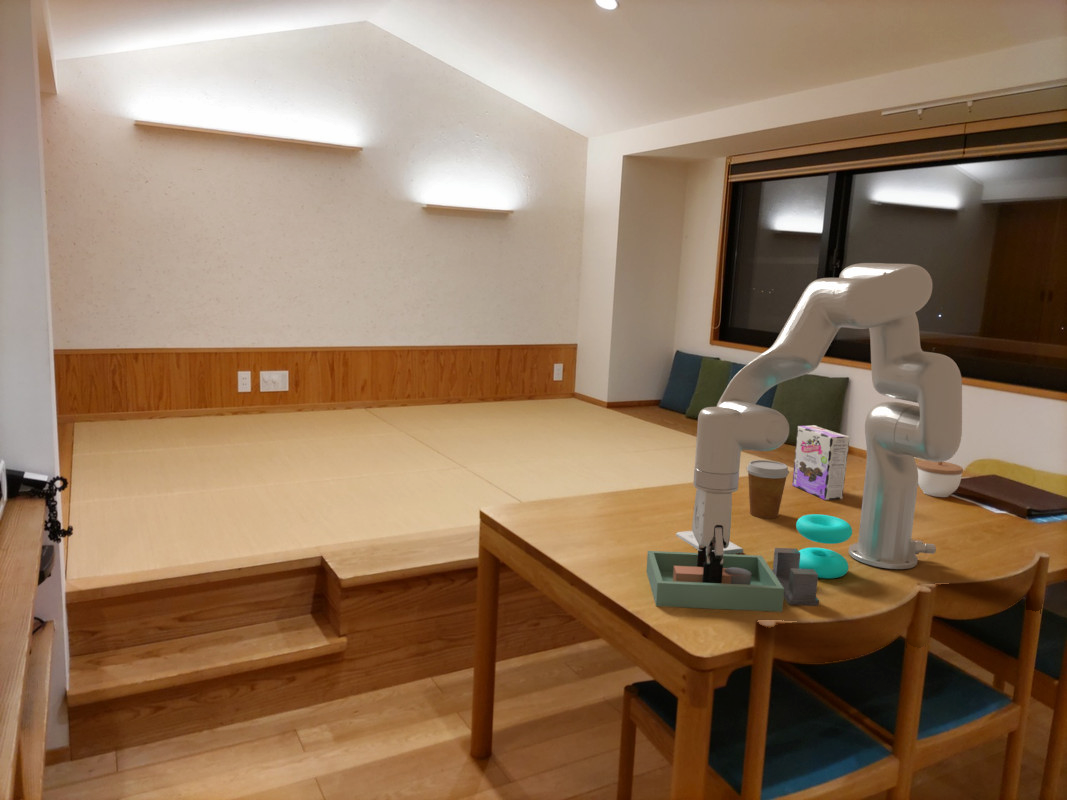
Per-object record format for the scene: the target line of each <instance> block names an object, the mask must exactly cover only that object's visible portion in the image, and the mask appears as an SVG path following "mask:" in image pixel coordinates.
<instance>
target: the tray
mask: <svg viewBox="0 0 1067 800" xmlns="http://www.w3.org/2000/svg"><path fill="white" fill-rule="evenodd" d="M697 558H698V552H688V551H687V552H685V551H683V552H682V551H661V550H647V557H646V574H647V579H648V582H649V585H650V590H651V592H652V597H653V600H654V603H655V607H668V608H670V607H671V608H687V609H689V608H690V609H691V608H692V609H712V610H713V609H714V610H730V611H731V610H735V611H754V612H755V611H756V612H757V611H758V612H780V613H783V607H784V587H783V586H782V585H781V583H780V582H779V580H778V579H777V577H776V576H775V574H774V573H773V572H772V570H773V569H771V568H770V566H769V564H768V563H767V561H766V560H765V559H764V557H763V556H762V555H757V554H756V555H755V554H754V555H753V554H751V555H750V554H724V555H723V568H731V567H736V568H742V569H746V570H748V571H750V572H751V585H744V584H721V583H699V582H677V581H673V570H674V566H691V567H697Z"/></svg>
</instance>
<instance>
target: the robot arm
mask: <svg viewBox="0 0 1067 800" xmlns="http://www.w3.org/2000/svg"><path fill="white" fill-rule="evenodd" d="M932 293H933V280H932V277H931V275H930V273H929V272H928V271H927V269H925V268H924V267H922V266H920V265H917V264H912V263H882V262H860V263H855V264H854V263H853V264H851V265H849V266H846V267H845V268H844V269H843V270H842V271H841V272H840V273H839V277H823V278H822V277H821V278H817V279H815V280H814V281H811V282H810V283H809V284H808V285H807V287H806V288H804V290H803V292H802V294H801V296H800V298H799V299H798V301H797V303H796V304H795V307H794V308H793V309H792V311H791V314H790V315H789V317H788V319H787V321H786V322H785V324H784V326H783V327H782V329H781V330H780V332H779V334H778V336H777V338H775V339H776V340H775V341H774V342H773V344H772V345H771V346H770V347H769V348H768V349H767V350H765V351H763V352H762V353H760V354H759V355H757V356H756V357H755V358H754V359H752V360H751V361H750V362H749V363H748V364H746V365H745V366H743V368H741V369H740V370H739V371H738V372H737V373H736V374H735V375H734V376H733V378H731V380H730V381H729V383H728V384H727V387H726V388H725V390H724V391H723V392H722V395H721V396H720V398H719V400H718V402H717V404H716V406H708V407H707V406H706V407H704V408H702V409H701V410H700V411H699V413H698V415H697V417H698V418H697V427H696V428H697V429H696V430H697V431H696V444H695V461H694V469H693V470H694V472H693V473H694V474H693V487H694V488H695V490H696V492H695V497H694V499H695V500H694V506H693V507H694V508H693V516H692V517H693V518H692V525H691V531H692V532H693V534H694V536H695V539H696V541H697V542H698V544H699V550H697V553H698V558H697V567H703V580H702V583H721V584H722V572H723V555H724V551H723V548H724V549H725V548H727V547H728V546H729V541H730V539H731V530H732V529H731V528H732V506H733V503H732V502H733V493H735V492H737V491H738V490H739V480H740V479H739V476H740V466H741V452H742V451H756V452H771V451H774V450H777V449H778V448H780V447H781V446H782V445H784V444H785V443H786V442H787V439H788V437H789V435H790V424H789V422H788V419H787V418H786V417H785V415H784V414H782V413H781V412H779V411H778V410H776V409H773V408H771V407H767V406H764V405H760V404H757V402H758V400H760V398H761V397H762V396H763V395H764V394H765V393H767V392H768V391H769V390H770V389H771V388H773V387H775V386H777V385H778V384H780V383H783V382H786V381H789V380H792V379H796V378H798V377H801V376H804V375H807V374H810V373H811V372H813V371H815V370H816V369H817V368H818V367H819V365H820V364H821V361H822V360H823V358H824V356H825V355H826V353H827V351H828V350H829V347H830V346H831V343H832V342H833V341H834V338H835V337H836V335H837V334H838V332H839V330H840V329H841V328H847V329H857V330H865V329H868V330H869V339H870V362H871V363H870V365H871V366H870V367H871V380H872V385H873V388H874V390H875V391H876V392H877V393H878V394H881V396H885V397H888V398H893V399H897V400H902V401H907V402H913V403H917V404H918V405H915V404H909V403H904V402H897V401H884V402H881V403H878V404H876V405H875V406H873V407H872V408H871V409H870V410H869V412H868V413H867V415H866V419H865V421H864V437H865V444H866V445H865V446H866V462H865V463H866V466H865V474H864V483H863V484H864V485H863V494H862V501H861V503H862V504H861V511H860V513H861V514H860V519H859V521H860V523H859V531H858V539H857V542H854V543H852V544H850V545H849V547H848V554H849V555H850V557H851V558H853V559H854V560H856V561H858V562H860V563H863V564H866V565H867V566H868V565H869V566H872V567H876V568H881V569H887V570H888V569H889V570H907V569H912V568H914V567H915V566H917V564H918V556H917V555H919V554H921V553H922V554H923V553H924V554H933V555H934V554H936V551H937V548H936V545H935V544H934V543H924V541H922V540H916V539H914V538H912V536H913V535H912V534H913V528H914V527H913V525H914V517H915V509H916V500H917V493H918V487H919V485H918V469H917V462H916V459H915V458H917V459H920V460H922V461H924V460H928V461H933V462H947V461H948V460H951V459H952V458H953V457H954V456H955V455H956V453H957V452H958V450H959V448H960V445H961V441H962V436H963V435H962V433H963V380H962V378H963V377H962V374H961V371H960V368H959V367H958V365H957V363H956V362H955V361H954V359H952V358H951V357H950V356H947V355H945V354H942V353H937V352H932V351H931V352H930V351H924V350H923V349H922V347H921V338H920V337H921V336H920V326H919V321H918V316H917V314H916V313H917V312H918V311H920V310H922V308H923V307H925V305H927V303H928V301H929V300H930V298H931V296H932ZM700 550H702V551H700ZM712 550H713V551H712Z"/></svg>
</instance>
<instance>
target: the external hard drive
mask: <svg viewBox="0 0 1067 800" xmlns="http://www.w3.org/2000/svg"><path fill="white" fill-rule="evenodd" d="M676 536H677V537H679V538H680V539H682V540H683V541H682V540H681V541H682V542H684V541H685V542H687V543H688V544H690V545H691V546H693V547H694V548H693V547H692V548H693V549H695V548H696V549H697V550H696V549H695V550H696V551H698V550H699V544H698V542H697V541H696V539H695V536H694V534H693V532H692V530H686V531H678V532H676V533H675V537H676ZM677 537H676V538H677ZM679 538H678V539H679ZM680 539H679V540H680ZM685 542H684V543H685ZM687 543H686V544H687ZM688 544H687V545H688ZM690 545H689V546H690ZM691 546H690V547H691ZM700 551H702V550H700ZM712 551H713V550H712ZM723 551H724V554H734V555H739V554H738V553H740V554H744V548H742V547H740V546H738V545H737V544H736V543H733V542H732V541H730V540H729V546H728V547H727V548H725V549H724V548H723ZM736 553H737V554H736Z"/></svg>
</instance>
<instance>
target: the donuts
mask: <svg viewBox="0 0 1067 800" xmlns="http://www.w3.org/2000/svg"><path fill="white" fill-rule="evenodd" d="M795 527H796V531H797V532H798V533H799V534H800V535H801V536H802V537H804V538H805V539H807V540H809V541H811V542H815V543H819V544H826V545H828V544H829V545H835V544H842V543H844V542H846V541H848V540H849V539H850V538H851V537H852V535H853V528H852V525H850V523H848V522H847V521H846V520H844V519H843V518H839V517H837V516H832V515H827V514H816V513H815V514H813V513H812V514H804V515H802V516H801V517H799V518H798V519H797V521H796V524H795ZM798 551H799V552H800V563H799V569H814V570H815V571H816V573H817V574H818V579H838V578H842V577H843V576H845V575H846V574H847V573H848V571H849V563H848V561H847V559H846V558H845V557H844V556H843V555H842V554H840V553H838V552H837V551H834V550H832V549H828V548H823V547H816V546H815V547H805V548H802V549H800V550H799V549H798Z"/></svg>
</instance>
